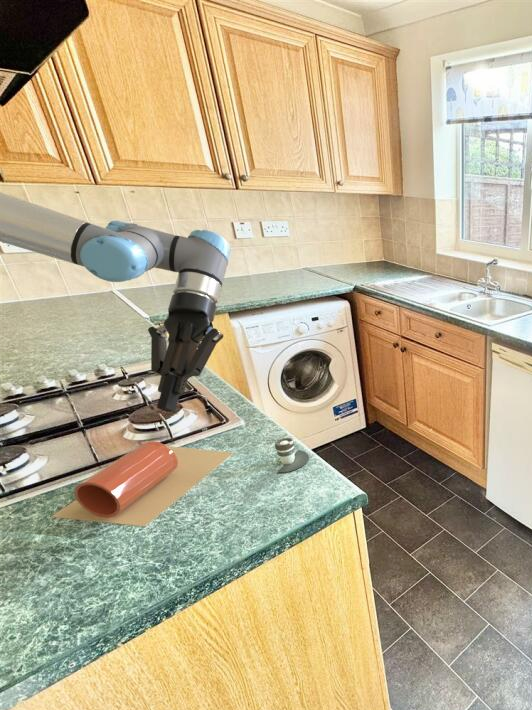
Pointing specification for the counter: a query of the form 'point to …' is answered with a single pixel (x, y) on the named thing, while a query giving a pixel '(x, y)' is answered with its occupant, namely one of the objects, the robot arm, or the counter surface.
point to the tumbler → (126, 479)
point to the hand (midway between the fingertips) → (166, 409)
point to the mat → (158, 489)
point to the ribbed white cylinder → (290, 455)
